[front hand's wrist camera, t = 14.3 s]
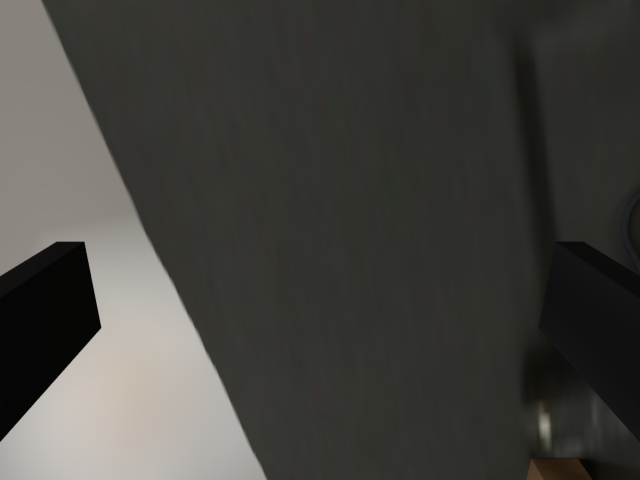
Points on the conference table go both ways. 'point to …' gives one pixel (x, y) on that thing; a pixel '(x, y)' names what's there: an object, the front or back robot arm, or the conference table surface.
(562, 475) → the brick
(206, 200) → the conference table surface
